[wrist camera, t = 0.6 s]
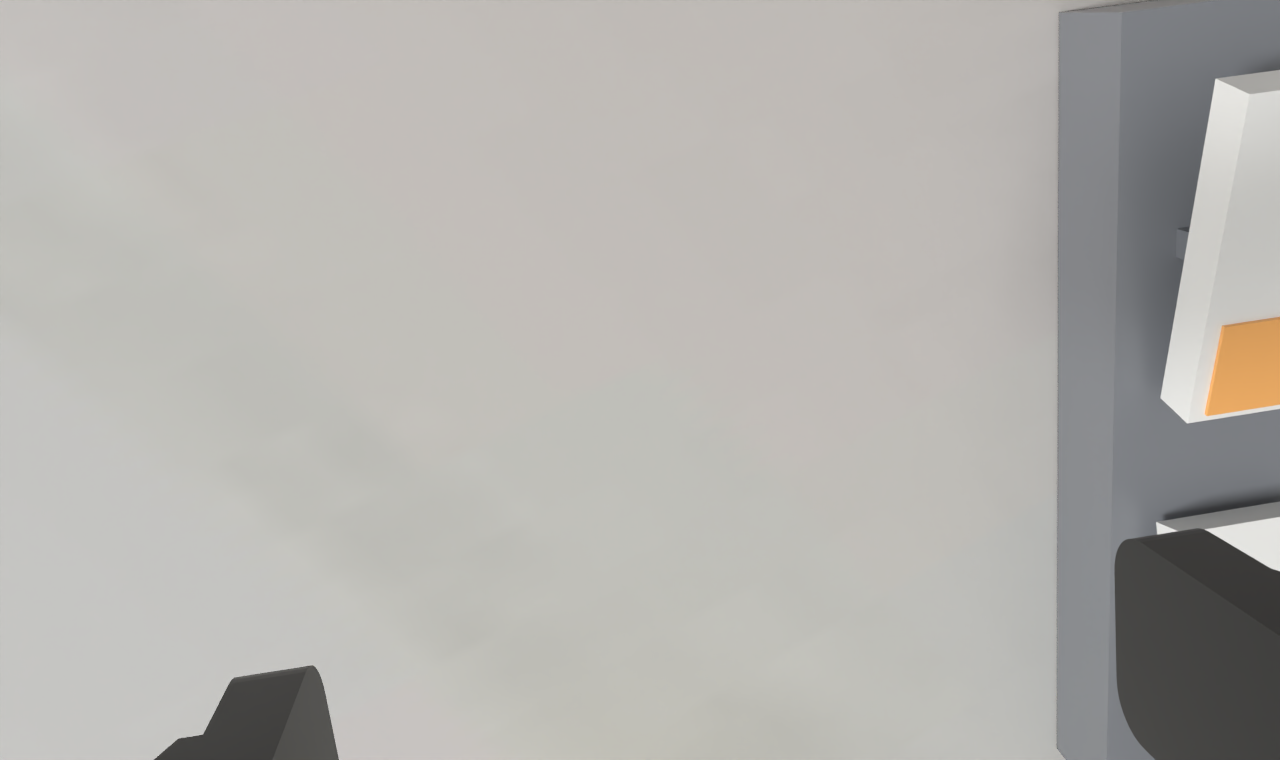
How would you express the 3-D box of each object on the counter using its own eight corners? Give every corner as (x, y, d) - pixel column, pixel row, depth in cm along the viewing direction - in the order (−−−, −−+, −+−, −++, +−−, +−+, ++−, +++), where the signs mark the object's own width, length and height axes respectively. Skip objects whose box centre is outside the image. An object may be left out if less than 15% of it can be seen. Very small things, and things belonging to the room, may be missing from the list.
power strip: (1059, -164, 27) (1142, -190, 23) (1451, -209, 28) (1588, -241, 24) (1056, 747, 35) (1118, 829, 32) (1357, 693, 36) (1449, 767, 32)
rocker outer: (1156, 522, 29) (1185, 534, 28) (1301, 497, 29) (1336, 509, 28) (1181, 812, 30) (1210, 837, 29) (1322, 786, 30) (1357, 809, 29)
